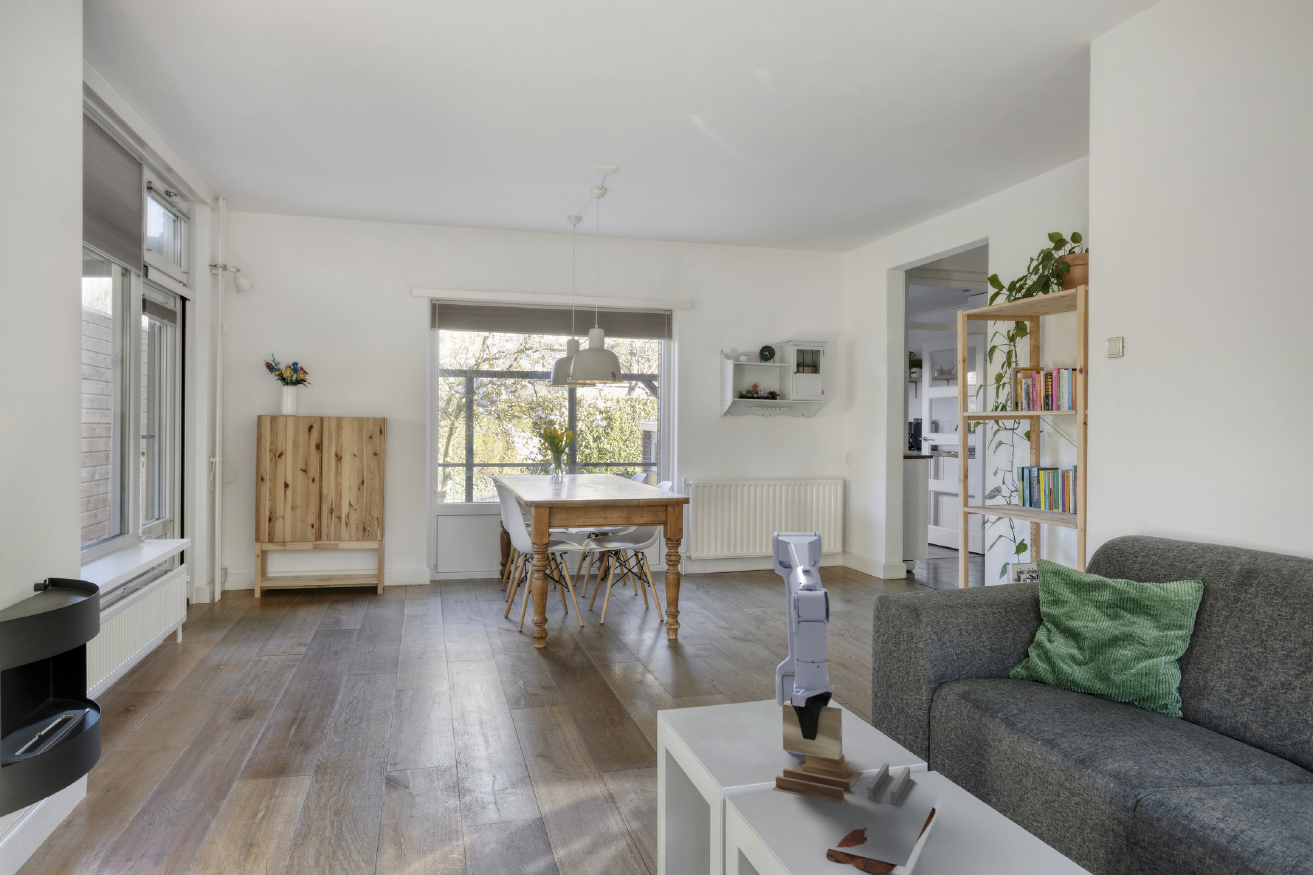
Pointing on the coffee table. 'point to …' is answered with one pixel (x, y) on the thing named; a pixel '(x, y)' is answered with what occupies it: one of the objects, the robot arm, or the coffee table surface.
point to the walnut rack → (815, 784)
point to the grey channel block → (889, 786)
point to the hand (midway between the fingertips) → (812, 736)
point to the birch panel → (826, 738)
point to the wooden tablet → (864, 863)
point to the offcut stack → (827, 766)
